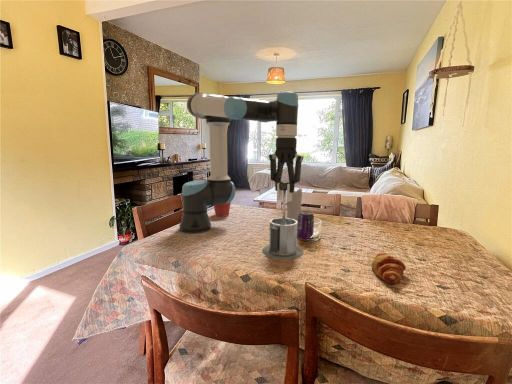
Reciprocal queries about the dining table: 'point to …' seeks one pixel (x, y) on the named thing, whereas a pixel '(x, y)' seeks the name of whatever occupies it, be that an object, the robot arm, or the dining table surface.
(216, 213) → the flower pot
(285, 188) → the plunger
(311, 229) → the beverage can
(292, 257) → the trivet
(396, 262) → the croissant
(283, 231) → the faceted metal cup
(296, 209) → the white tall block
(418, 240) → the dining table surface
